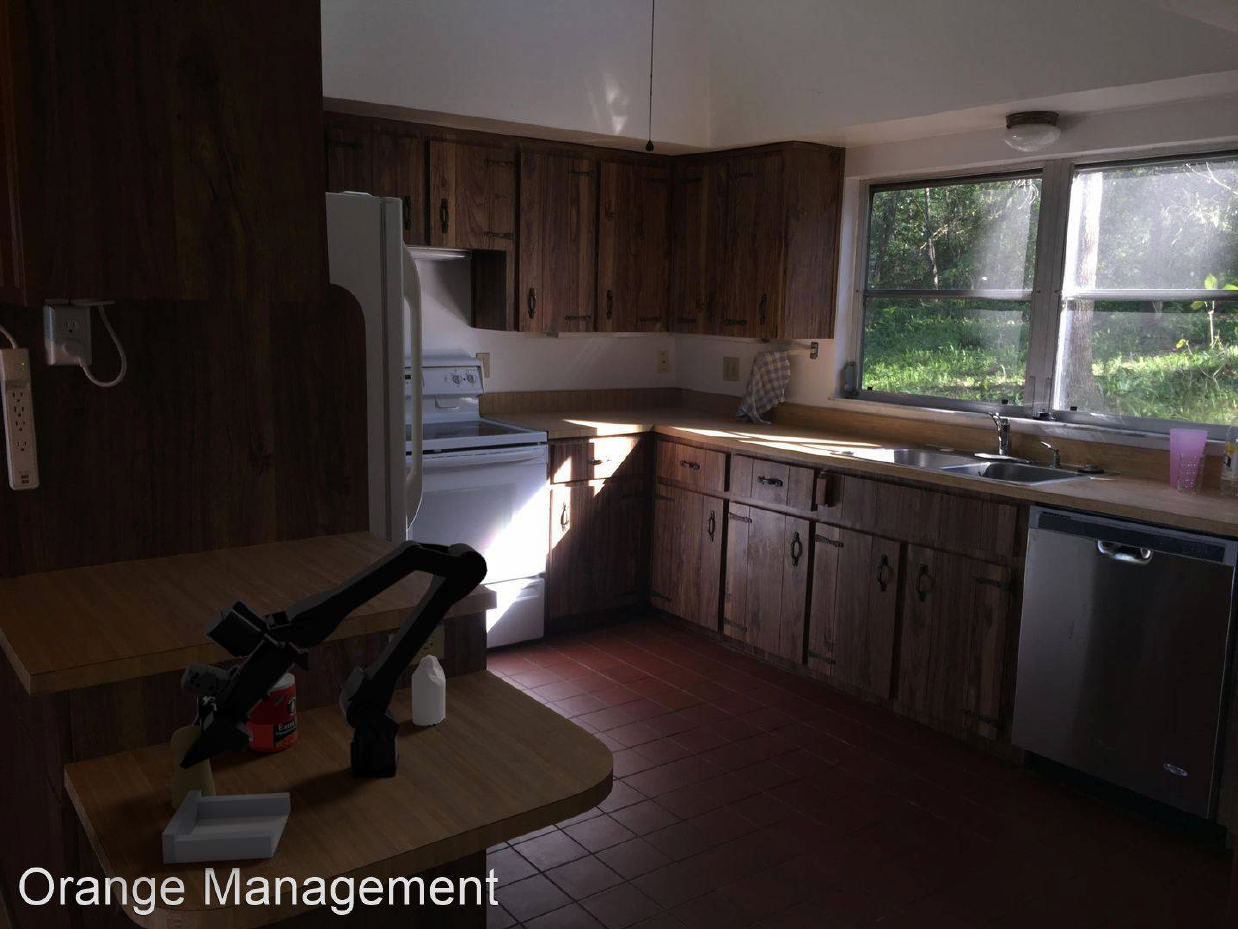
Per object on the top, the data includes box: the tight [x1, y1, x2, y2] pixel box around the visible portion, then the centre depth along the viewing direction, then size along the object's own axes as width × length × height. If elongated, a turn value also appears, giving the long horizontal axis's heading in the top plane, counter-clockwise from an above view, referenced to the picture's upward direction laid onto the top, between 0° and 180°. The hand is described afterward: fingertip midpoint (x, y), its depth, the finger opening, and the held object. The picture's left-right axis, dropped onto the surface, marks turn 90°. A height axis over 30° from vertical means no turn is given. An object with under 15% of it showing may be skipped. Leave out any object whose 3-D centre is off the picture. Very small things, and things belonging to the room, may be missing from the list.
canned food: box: [245, 672, 298, 753], centre depth 165 cm, size 8×8×11 cm
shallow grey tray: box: [161, 790, 291, 865], centre depth 136 cm, size 14×12×4 cm
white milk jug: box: [411, 654, 447, 727], centre depth 175 cm, size 6×12×6 cm
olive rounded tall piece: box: [170, 724, 217, 811], centre depth 146 cm, size 6×6×11 cm
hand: (181, 759), depth 145 cm, fingers closed on olive rounded tall piece, 5 cm apart
